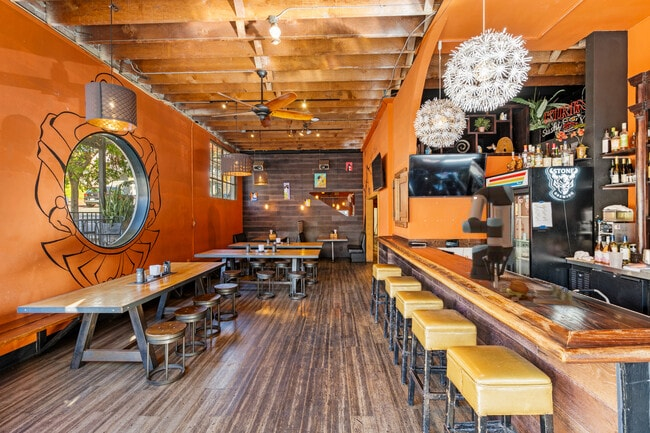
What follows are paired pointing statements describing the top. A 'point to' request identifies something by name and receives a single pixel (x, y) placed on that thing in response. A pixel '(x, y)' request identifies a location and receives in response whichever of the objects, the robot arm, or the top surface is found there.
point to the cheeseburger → (517, 289)
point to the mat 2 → (531, 304)
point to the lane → (559, 293)
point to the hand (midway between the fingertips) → (495, 287)
